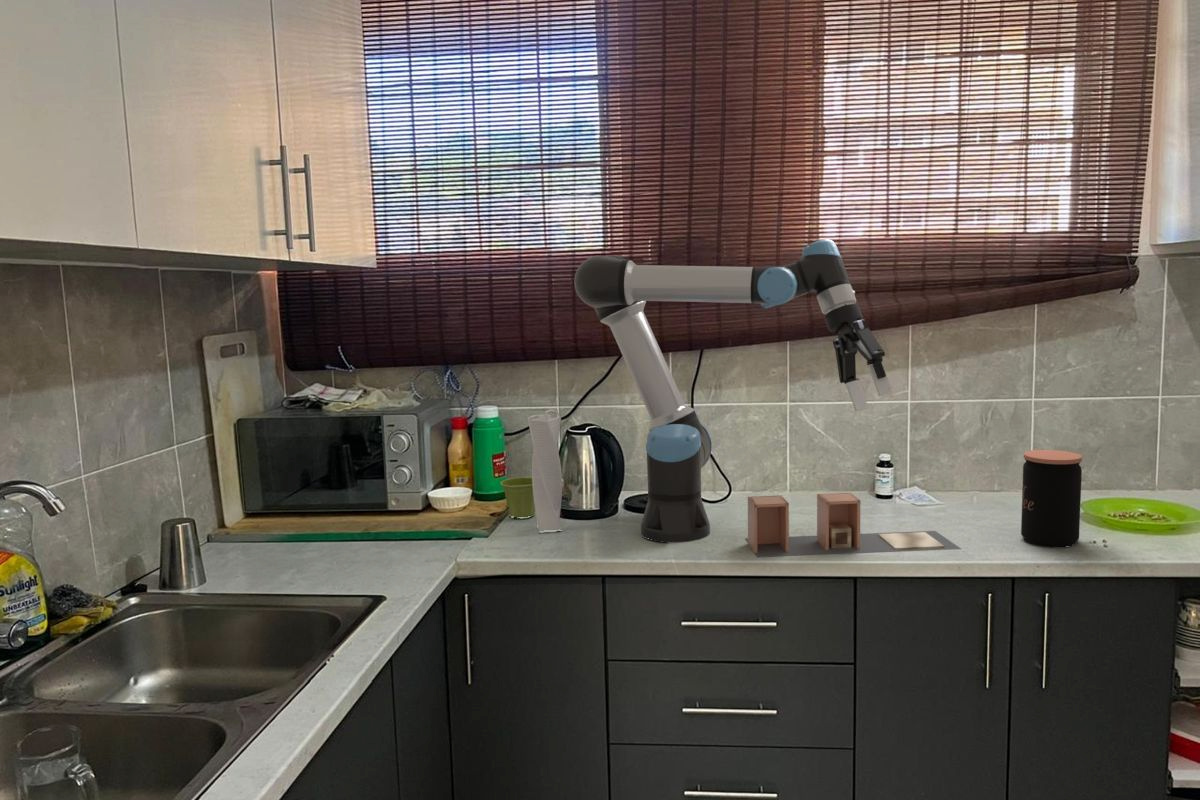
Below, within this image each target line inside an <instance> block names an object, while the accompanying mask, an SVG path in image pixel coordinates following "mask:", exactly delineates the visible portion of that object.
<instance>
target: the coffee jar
mask: <svg viewBox="0 0 1200 800" xmlns="http://www.w3.org/2000/svg"><path fill="white" fill-rule="evenodd" d="M1023 459H1024V460H1025V462H1024V463H1023V465H1022V488H1021V489H1022V490H1021V492H1022V493H1021V495H1022V496H1021V521H1020V522H1021V525H1020V535H1021V536H1022V538H1023V540H1024V541H1025V542H1027V543H1029V544H1031V545H1036V546H1039V547H1044V546H1045V548H1053V547H1063V548H1067V547H1066V546H1070V547H1073V546H1074V544H1075V545H1076V543H1078V541H1079V539H1080V525H1081V502H1082V501H1081V498H1082V497H1081V496H1082V474H1083V472H1082V467H1081V465H1080V464H1081V462H1082V461H1083V456H1082V454H1079V453H1076V452H1071V451H1067V450H1058V449H1032V450H1028V451H1027V450H1026V451H1024V452H1023ZM1072 545H1073V546H1072Z"/></svg>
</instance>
